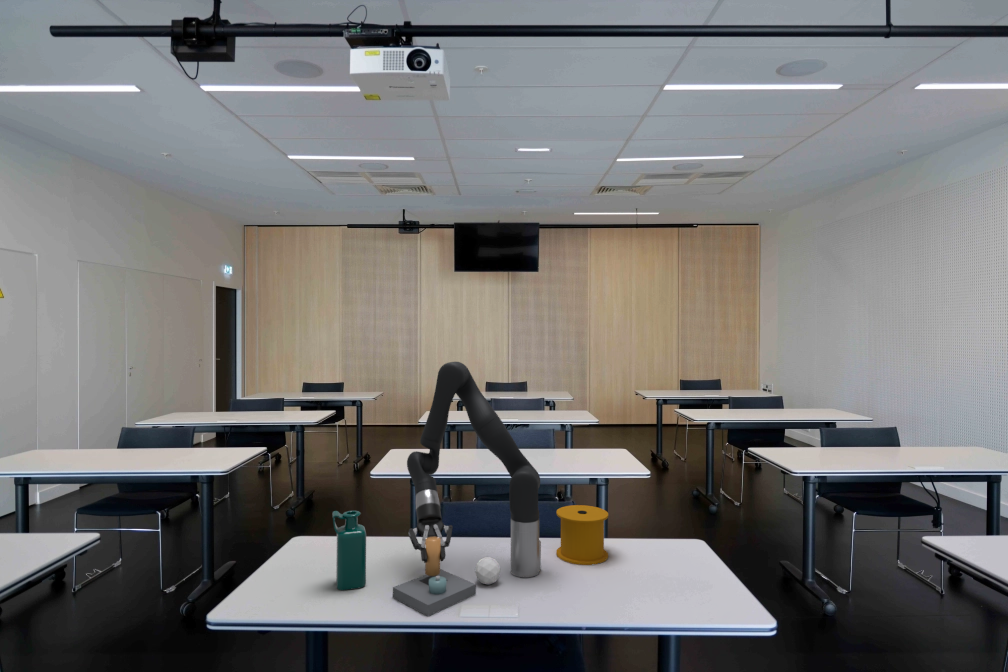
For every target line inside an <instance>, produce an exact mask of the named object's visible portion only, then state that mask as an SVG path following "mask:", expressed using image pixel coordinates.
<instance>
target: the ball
mask: <svg viewBox="0 0 1008 672" xmlns="http://www.w3.org/2000/svg"><path fill="white" fill-rule="evenodd" d="M474 570H475V571H474V573H475V576H476V579H477V581H479V583H480V584H483V585H487V586H489V585H491V584H494V583H496V582H497V581H498V579H499V578H500V574H501V568H500V563H499V562H498V561H497V559H495V558H493V557H489V556H485V557H483V558H481V559H480V560H479V561H478V562H477V563H476V564H475V569H474Z"/></svg>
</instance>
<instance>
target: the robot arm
mask: <svg viewBox="0 0 1008 672" xmlns="http://www.w3.org/2000/svg"><path fill="white" fill-rule="evenodd" d="M455 395H457V397H458V398H459V399H460V401H461V403H462V404H463V407H464V408H465V411H466V414H467V417H468V419H469V422H470V425H471V427H472V429H473V430H474V432H475V434H476V435H477V436H478V438H479V440H480V442H482V444H483V445H484V446H485V447H486V448H487V449H488V450H489V451H490V452H491V453H492V454H493V455H494V456H495V457H497V458H498V460H499V461H500V462H501V463H502V464H503V466H504V467H505V469H506V471H507V472H508V474H509V476H510V480H509V487H508V488H509V493H508V495H509V512H510V568H509V569H510V574H512V575H513V576H515V577H517V578H533V577H535V576H537V575H538V574H539V573H540V571H541V570H542V562H541V560H542V559H541V558H542V554H541V553H542V541H541V540H540V510H539V488H540V486H541V476H540V474H539V472H538V471H537V469H536V468H535V467H534V466H533V465H532V464H531V462H530V461H529V460H528V459H527V458H526V456H525V455H524V454H523V452H522V451H521V450H520V448H519V447H518V445H517V443H516V441H515V440H514V438H513V436H512V435H511V434H510V433H511V432H510V431H509V430H508V429H507V427H506V425H505V424H504V423H503V421H502V419H501V418H500V416H499V415H498V413H497V412H496V411H495V410H494V408H493V406H492V405H491V404H490V402H489V401H488V400H487V399H486V397H485V396H484V395H483V393H482V391H481V390H480V389H479V387H478V385H477V383H476V381H475V380H474V377H473V376H472V373H471V372H470V370H469V368H468V366H466V365H465V364H464V363H462V362H461V361H451V362H446V363H444V364H443V365H442V366H440V368H439V369H438V372H437V377H436V384H435V389H434V394H433V398H432V402H431V407H430V410H429V413H428V416H427V419H426V422H425V425H424V428H423V430H422V434H421V435H420V441H419V444H421V446H423V447H424V448H427V449H428V450H429V452H424V451H423V452H422V451H412V452H411V453H409V455H408V457H407V460H406V468H407V471H408V474H409V476H410V478H411V481H412V483H413V486H414V492H415V493H414V494H415V512H416V520H417V521H416V522H417V524H416V527H415V528H411V527H410V528H409V529H408V534H407V536H408V537H409V540H410V542H411V544H412V547H413V549H414V550H415V551H417V550H419V551H420V560H421V561H422V562H423V564H425V563H427V552H426V538H428V537H439V538H441V548H440V562H444V560H445V559H446V556H447V555H446V548H448V547H449V546H450V544H451V538H452V534H453V533H452V532H453V529H454V527H453V525H452V524H449V525H445V524H444V523H443V521H442V520H443V519H442V513H441V510H442V509H441V505H440V499H439V495H438V488H437V480H436V479H435V477H434V476H432V475H434V474H436V472H437V470H438V469H439V465H440V454H441V453H440V452H441V444H442V442H443V439H444V436H445V433H446V430H447V425H448V421H449V413H450V408H451V405H452V402H453V399H454V397H455ZM443 531H444V533H445V534H446V537H445V541H444V539H443V536H442V532H443ZM417 534H419V536H420V537H421V538H422V539H421V543H419V540H418V538H417Z"/></svg>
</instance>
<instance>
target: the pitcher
mask: <svg viewBox="0 0 1008 672" xmlns="http://www.w3.org/2000/svg"><path fill="white" fill-rule="evenodd" d="M361 514H362V513H361V512H360V511H359V510H348V511H344V512H343V513H340V512H339V511H338V510H334V511H332V523H333V529H334V531H335V533H336V560H335V561H336V569H335V570H336V571H335V573H336V574H335V579H336V580H335V582H336V589H337V590H339V591H347V590H354V589H362V588H363V587H365V586H366V584H367V532H366V528H365V526H364V525H362V524H359V523H358V520H359V519H358V517H359V516H360V515H361ZM336 518H338V519H340V520H345V522H344V525H342V526H340V527H338V526H337V524H336Z"/></svg>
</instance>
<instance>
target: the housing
mask: <svg viewBox="0 0 1008 672" xmlns="http://www.w3.org/2000/svg"><path fill="white" fill-rule="evenodd" d="M475 595H477V584H476V583H474V582H472V581H470V580H468V579H465V578H463V577H460V576H458V575H456V574H453V573H450V572H449V571H446V570H444V569H441V568H440V574H438V575H436V576H428V575H426V574H423V575H421V576H418V577H415V578H413V579H410V580H408V581H405V582H402V583H400V584H398V585H394V586H392V599H394V600H397V601H398V602H400V603H403V604H404V605H405V606H407V607H409V608H412V609H414V610H415V611H417V612H419V613H421V614H423V615H425V616H426V617H430V616H432V615H434V614H437V613H439V612H441V611H443V610H445V609H447V608H449V607H452V606H454V605H456V604H458V603H460V602H462V601H465V600H467V599H469V598H471V597H473V596H475Z"/></svg>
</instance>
